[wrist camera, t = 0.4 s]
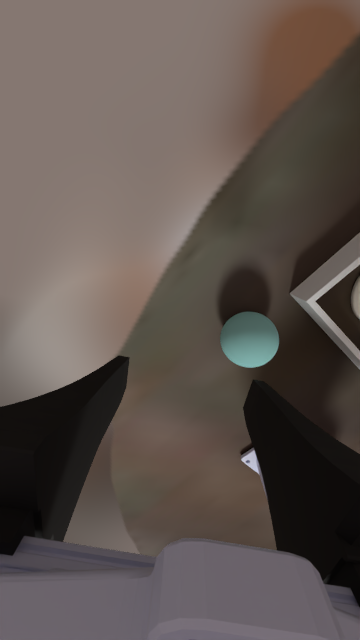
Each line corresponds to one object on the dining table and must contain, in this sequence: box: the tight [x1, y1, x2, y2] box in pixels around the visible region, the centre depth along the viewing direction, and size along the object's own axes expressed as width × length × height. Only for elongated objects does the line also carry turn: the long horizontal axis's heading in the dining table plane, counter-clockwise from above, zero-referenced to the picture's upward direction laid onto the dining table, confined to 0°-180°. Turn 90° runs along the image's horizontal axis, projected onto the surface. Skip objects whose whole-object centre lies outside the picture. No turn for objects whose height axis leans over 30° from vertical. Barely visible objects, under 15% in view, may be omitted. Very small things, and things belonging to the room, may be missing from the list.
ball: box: [220, 312, 279, 368], centre depth 19 cm, size 5×5×5 cm
